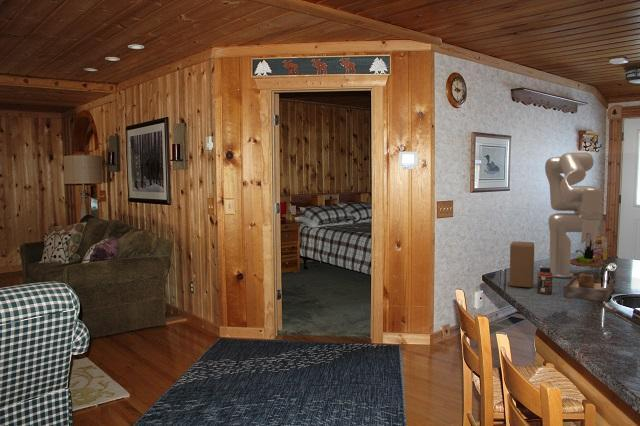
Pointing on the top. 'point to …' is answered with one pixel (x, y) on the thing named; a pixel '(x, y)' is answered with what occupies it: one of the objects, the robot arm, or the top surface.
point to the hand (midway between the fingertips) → (588, 258)
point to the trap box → (588, 290)
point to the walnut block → (586, 281)
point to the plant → (586, 261)
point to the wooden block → (522, 264)
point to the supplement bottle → (544, 281)
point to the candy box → (600, 248)
